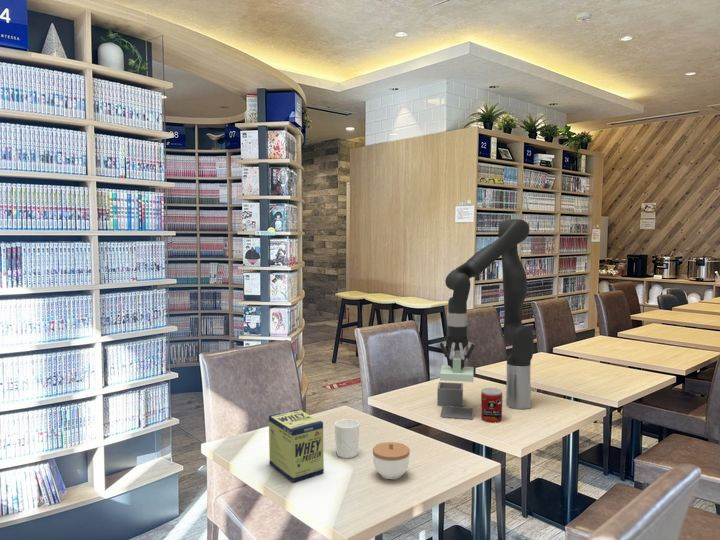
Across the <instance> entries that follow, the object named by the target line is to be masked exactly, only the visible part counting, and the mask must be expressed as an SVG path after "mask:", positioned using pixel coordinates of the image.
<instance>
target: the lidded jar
mask: <svg viewBox="0 0 720 540" xmlns="http://www.w3.org/2000/svg"><path fill="white" fill-rule="evenodd" d="M372 459H373V465H374V468H375V470H376V471H377V472H376V473H378V474H379V475H380V476H382V477H381V478H382V479H385V478H386V479H385V480H388V479H395V480H399V479H400V478H402V476H403V474H405V473H406V472H407V469H408V468H409V463H410V448H409V446H407V445H406V444H404V443H401V442H395V441H388V442H387V441H386V442H380V443H377V444H376V445H374V446H373V447H372ZM398 478H399V479H398Z"/></svg>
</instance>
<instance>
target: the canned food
mask: <svg viewBox="0 0 720 540" xmlns="http://www.w3.org/2000/svg"><path fill="white" fill-rule="evenodd" d="M480 393H481V394H480V397H481V398H480V401H481V402H480V408H481V409H480V410H481V411H480V417H481V420H482V421H484V422H486V423H490V422H491V423H495V422H496V423H499V422H501V421H502V419H503V391H502V390H501V389H500V388H497V387H486V388H485V387H484V388H482V389H481V392H480Z"/></svg>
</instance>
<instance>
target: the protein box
mask: <svg viewBox="0 0 720 540" xmlns="http://www.w3.org/2000/svg"><path fill="white" fill-rule="evenodd" d="M268 438H269V439H268V446H269V447H268V448H269V449H268V450H269V453H268V454H269V465H270V466H271V467H272V468H273V469H275V470H276V471H278V473H279V474H281V475H282V476H283V477H285V478H287V479H288V480H289V481H290V482H291V483H292V484H294V483H297V482H301V481H303V480H306V478H307V479H309V478H312V477H316V475H317V476H320V475H323V474H324V469H325V466H324V461H325V459H324V422H323V421H322V420H319V418H316V417H314V416H312V415H310V414H308V413H307V412H304V411H303V410H301V409H299V408H297V409H293V410H287V411H285V412H283V411H282V412H279V413H275V414H274V413H273V414H270V415H268ZM322 473H323V474H322ZM319 474H320V475H319Z"/></svg>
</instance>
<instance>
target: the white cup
mask: <svg viewBox="0 0 720 540" xmlns="http://www.w3.org/2000/svg"><path fill="white" fill-rule="evenodd" d="M334 437H335V439H334V440H335V447H336V449H335V450H336V455H337V456H338V457H339V458H343V459H352V458H354V457H357V456H358V455H359V454H358V453H359V443H360V442H359V441H360V439H359V438H360V421H358V420H357V419H351V418H345V419H339V420H337V421H335V422H334Z"/></svg>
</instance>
